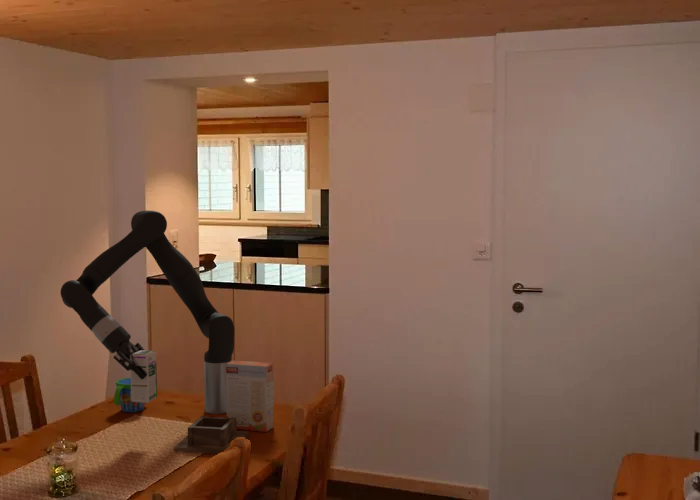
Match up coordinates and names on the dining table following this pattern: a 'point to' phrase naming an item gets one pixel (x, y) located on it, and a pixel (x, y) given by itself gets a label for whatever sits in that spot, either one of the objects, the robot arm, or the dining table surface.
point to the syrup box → (145, 387)
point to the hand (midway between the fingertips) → (149, 374)
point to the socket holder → (210, 435)
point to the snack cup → (126, 397)
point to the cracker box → (250, 395)
